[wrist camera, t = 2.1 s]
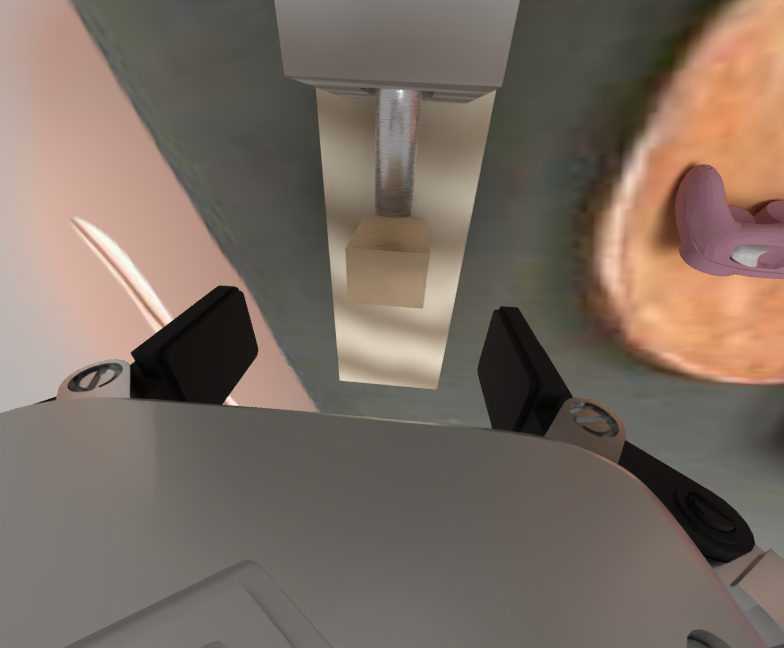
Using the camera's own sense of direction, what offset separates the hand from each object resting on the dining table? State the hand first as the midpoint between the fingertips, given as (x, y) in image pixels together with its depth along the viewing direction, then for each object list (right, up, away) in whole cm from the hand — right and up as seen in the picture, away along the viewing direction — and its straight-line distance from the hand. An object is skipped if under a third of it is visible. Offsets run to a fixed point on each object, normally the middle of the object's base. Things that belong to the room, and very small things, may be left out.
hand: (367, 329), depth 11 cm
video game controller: (+24, +8, +8) cm, 27 cm away
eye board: (+1, +8, +10) cm, 13 cm away
